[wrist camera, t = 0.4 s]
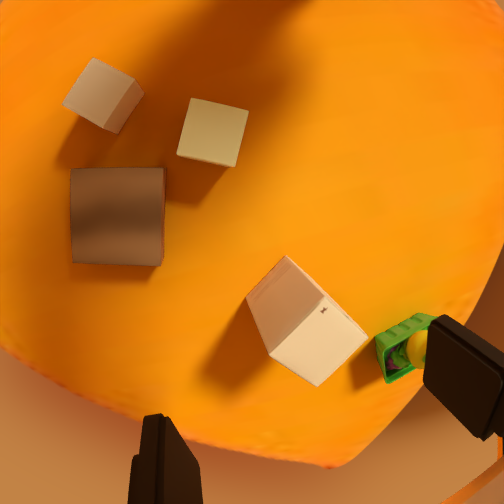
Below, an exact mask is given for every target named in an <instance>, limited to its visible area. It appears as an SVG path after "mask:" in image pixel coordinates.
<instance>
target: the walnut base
mask: <svg viewBox="0 0 504 504" xmlns="http://www.w3.org/2000/svg"><path fill="white" fill-rule="evenodd" d="M166 172H167V168H148V167H116V168H76V169H71V179H70V219H71V243H72V258H73V263H87V264H113V265H141V266H161V264H162V261H163V258H164V220H165V191H166Z"/></svg>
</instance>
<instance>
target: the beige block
mask: <svg viewBox="0 0 504 504" xmlns="http://www.w3.org/2000/svg"><path fill="white" fill-rule="evenodd" d="M248 114H249V111H248V110H244V109H240V108H236V107H232V106H228V105H224V104H219V103H215V102H211V101H206V100H201V99H196V98H191V100H190V104H189V107H188V111H187V114H186V118H185V122H184V125H183V129H182V133H181V137H180V141H179V145H178V149H177V153H176V154H177V155H178V156H179V157H183V158H188V159H193V160H198V161H202V162H207V163H212V164H216V165H221V166H225V167H235V165H236V161H237V157H238V153H239V149H240V145H241V141H242V137H243V133H244V129H245V126H246V122H247V118H248Z"/></svg>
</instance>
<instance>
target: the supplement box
mask: <svg viewBox="0 0 504 504" xmlns="http://www.w3.org/2000/svg"><path fill="white" fill-rule="evenodd" d="M246 301H247V303H248V306H249V308H250V311H251V313H252V316H253V318H254V320H255V323H256V325H257V328H258V330H259V333H260V335H261V338H262V340H263V342H264V345H265V347H266V350H267V352H268V355H269V356H270V357H272V358H273V359H275V360H276V361H277V362H279V363H280V364H282V365H283V366H285V367H286V368H288V369H289V370H291V371H292V372H294V373H295V374H297V375H298V376H300V377H302V378H303V379H305V380H306V381H308V382H309V383H311V384H313V385H314V386H316V387H318V386H319V385H320V384H321V383H322V382H323V381H324V380H326V379H327V378H328V377H329V376H330V375H331V374H332V373H333V372H334V371H335V370H336V369H337V368H338V367H339V366H340V365H341V364H343V363H344V362H345V361H346V360H347V359H348V357H349V356H350V355H351V354H352V353H354V352H355V351H356V350H357V349H358V348H359V347H360V346H361V345H362V344H363V343H364V342H365V341H366V340H367V339H368V336H367V334H366V333H365V332H364V331H363V330H362V329H361V328H360V327H359V326H358V324H357V323H356V322H355V321H354V320H353V319H352V318H351V317H350V316H349V315H348V314H347V313H346V312H345V311H344V310H343V309H342V308H341V307H340V306H339V305H338V304H337V303H336V302H335V301H334V300H333V299H332V298H331V297H330V296H329V295H328V294H327V293H326V292H325V291H324V290H323V289H322V288H321V287H320V286H319V285H318V284H317V283H316V282H315V281H314V280H313V279H312V278H311V277H310V276H309V275H308V274H307V273H306V272H304V271H303V270H302V269H301V268H300V267H299V266H298V265H297V264H295V263H294V262H293V261H292V260H291V259H290V258H289V257H288V256H286V255H285V256H284V257H283V258H282V259H281V260H280V261H279V262H278V264H277V265H276V266H275V267H274V268H273V269H272V270H271V271H270V272H269V273H268V274H267V275H266V276H265V277H264V278H263V279H262V280H261V281H260V283H259V284H258V285H257V286H256V287H255V288H254V289H253V290H252V291H251V292H250V293H249V294H248V295H247V296H246Z"/></svg>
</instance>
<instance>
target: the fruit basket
mask: <svg viewBox="0 0 504 504" xmlns="http://www.w3.org/2000/svg"><path fill="white" fill-rule="evenodd" d="M436 318H437V316H436V317H434V316H430V315H427V314H423V313H417V314H415V315H414V316H412V317H411V318H409V319H406V320H405V321H403V322H401V323H400V324H399V325H395V326H393V327H391V328H389V329H388V330H387V331H386V332H382V333H380V334H378V335H376V336H375V341H376V344H375V345H376V353H377V355H378V356H377V360H378V362H379V365H380V367H381V370H382V372H383V375H384V380H385V382H386V383H387V384H390V383H392V382H394V381H396V380H397V379H399V378H401V377H403V376H404V375H406V374H408V373H409V372H411V371H413V370H415V369H416V368H417V369H424V366H425V356H426V345H427V332H428V327H429V326H430V322H431V321H432V320H434V319H436Z"/></svg>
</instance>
